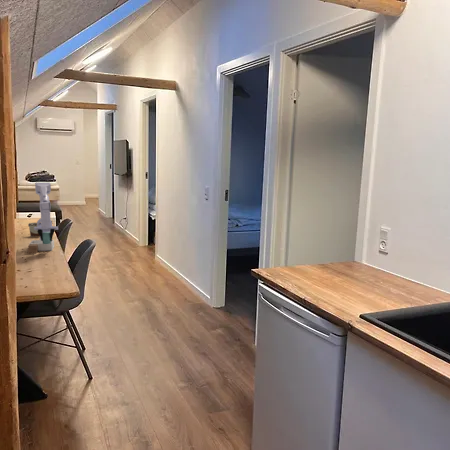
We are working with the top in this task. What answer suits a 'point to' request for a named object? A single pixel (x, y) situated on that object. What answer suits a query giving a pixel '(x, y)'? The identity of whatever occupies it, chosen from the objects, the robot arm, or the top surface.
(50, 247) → the tote
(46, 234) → the teal cylinder
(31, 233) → the food container
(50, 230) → the robot arm
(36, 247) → the walnut cube
